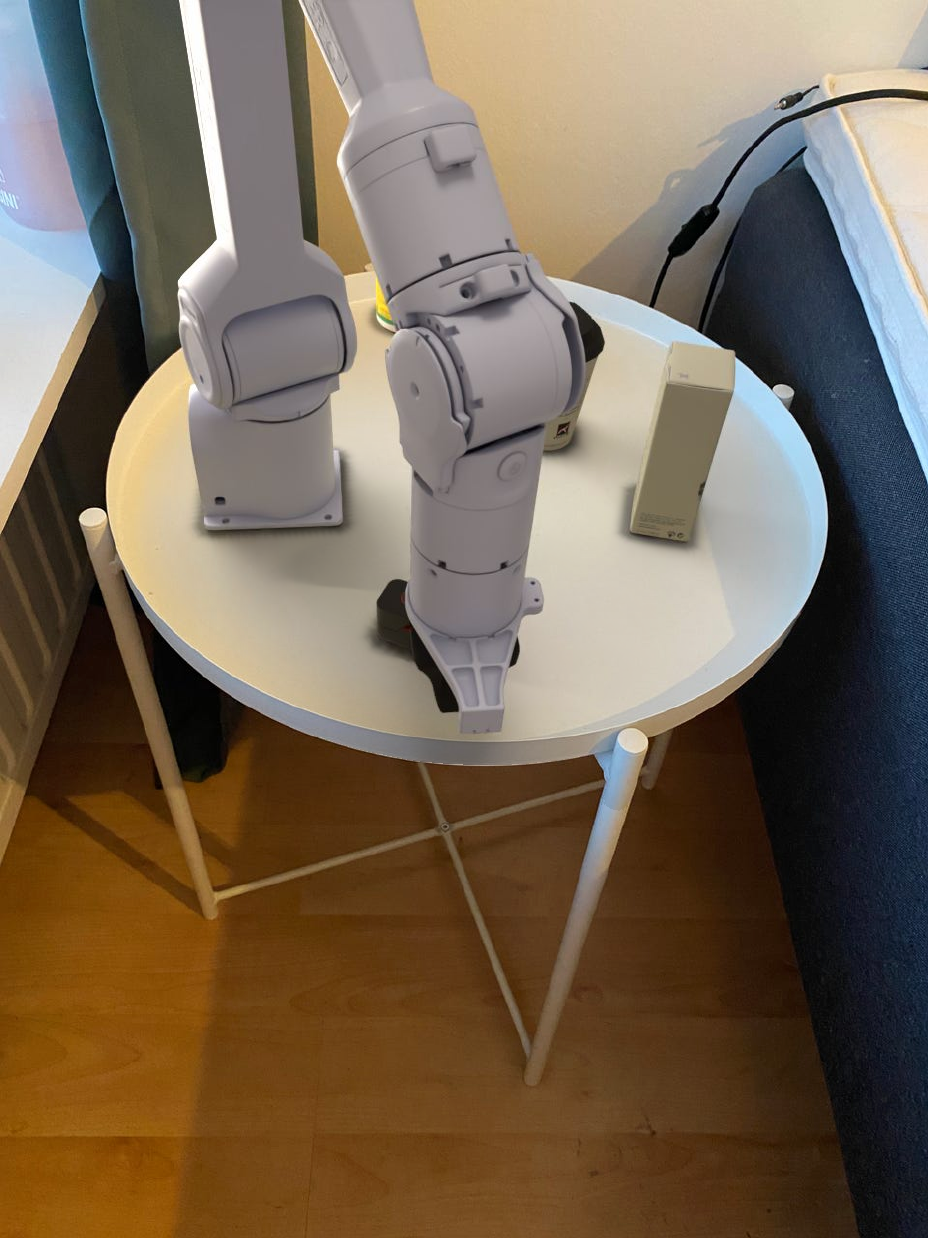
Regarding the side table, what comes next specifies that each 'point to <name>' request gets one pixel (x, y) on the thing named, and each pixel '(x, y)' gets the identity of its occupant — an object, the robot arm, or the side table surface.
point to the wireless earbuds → (393, 614)
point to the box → (682, 439)
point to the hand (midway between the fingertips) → (456, 702)
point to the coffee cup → (593, 344)
